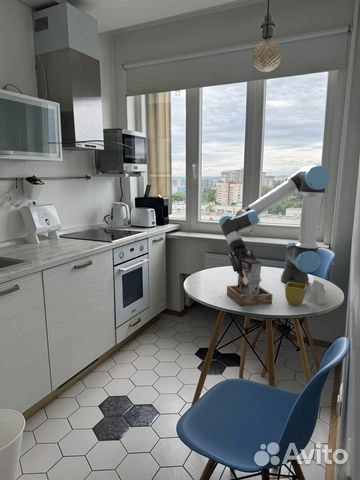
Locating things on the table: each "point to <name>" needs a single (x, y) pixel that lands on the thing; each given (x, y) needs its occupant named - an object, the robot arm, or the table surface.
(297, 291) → the flower pot
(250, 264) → the coffee box
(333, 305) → the table surface
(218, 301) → the table surface
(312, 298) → the grey block
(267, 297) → the tray
